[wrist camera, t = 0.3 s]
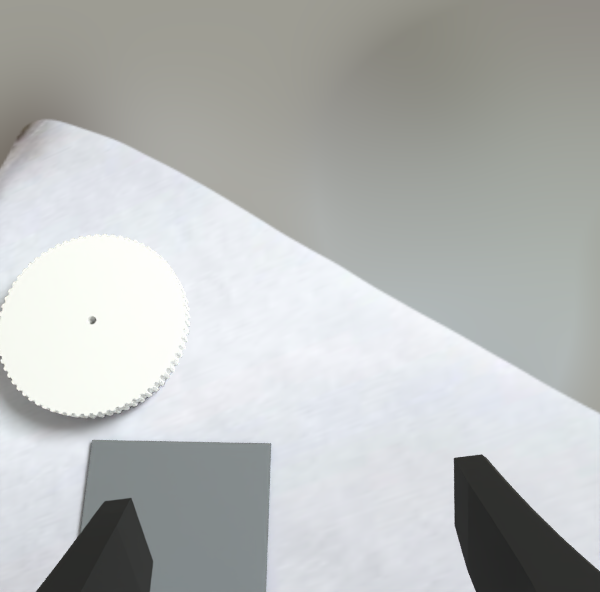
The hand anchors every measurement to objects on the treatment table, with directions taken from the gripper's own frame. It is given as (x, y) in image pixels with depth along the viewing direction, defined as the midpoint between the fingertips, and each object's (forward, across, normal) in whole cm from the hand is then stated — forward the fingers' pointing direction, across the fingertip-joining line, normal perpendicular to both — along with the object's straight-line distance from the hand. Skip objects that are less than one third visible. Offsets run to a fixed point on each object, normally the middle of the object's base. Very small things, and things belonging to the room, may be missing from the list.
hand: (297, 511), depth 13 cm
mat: (+20, +11, +21) cm, 31 cm away
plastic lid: (+31, +16, +10) cm, 36 cm away
